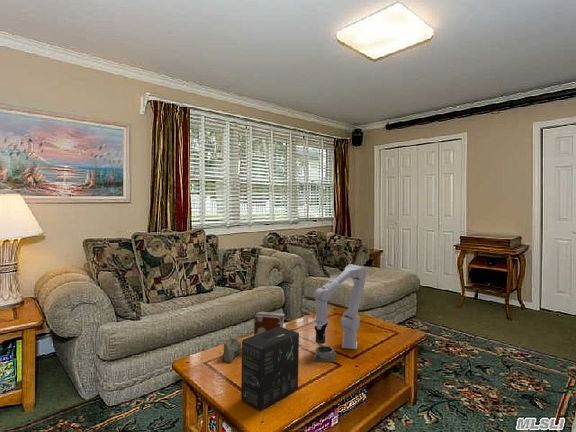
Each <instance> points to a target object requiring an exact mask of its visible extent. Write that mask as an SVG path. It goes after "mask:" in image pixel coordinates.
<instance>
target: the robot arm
mask: <svg viewBox="0 0 576 432" xmlns="http://www.w3.org/2000/svg"><path fill="white" fill-rule="evenodd" d="M367 272H368V271H367V270H366V268H365V267H364V266H360V265H356V264H352V263H349V264H348V265H346V266H345V267H344V270H343V271H342V272H341V273H340V274H339V275H338V276H337V277H336V278H335V279H329V280H328V282H326V283H325V284H324V285H322V286H321V287H319V288H316V290H315V291H314V293H313V297H314V299H315V319H313V323H315V324H316V325H315V326H314V327H313V328H314V330H315V334H316V333H317V338H318V341H322V340H323V335H324V331H325V332H326V329H327V326H328V324H329V322H328V301H329V300H330V298H331V296H332V294H333V293H335V292H336V291H337V290H338V289H339V287H340V285H341V284H342V283H344V282H345V281H346V280H348V279H350V278H351V279H352V282H353V285H352V287H353V288H352V291H351V294H350V295H351V296H350V298H349V304H348V307H347V310H346V311H344V312H343V315H342V317H341V318H340V321H339V323H340V326H341V327H342V343H341V348H343V349H350V350H351V349H352V350H357V348H358V341H357V332H358V330H359V329H360V327H361V326H360V325H361V317H360V316H359V315H360V314H358V313H359V309H360V304H361V300H362V295H363V292H364V287H365V283H366V277H367V274H368V273H367Z"/></svg>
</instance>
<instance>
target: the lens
mask: <svg viewBox="0 0 576 432" xmlns="http://www.w3.org/2000/svg"><path fill="white" fill-rule="evenodd" d="M326 334H327V333H326V330H325V331H324V335H323V340H322V341H318V338H317V333H316V332H315V343H316V344H319V345H324V344H325V343H326Z"/></svg>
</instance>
